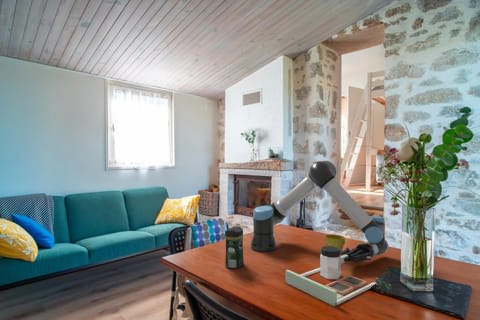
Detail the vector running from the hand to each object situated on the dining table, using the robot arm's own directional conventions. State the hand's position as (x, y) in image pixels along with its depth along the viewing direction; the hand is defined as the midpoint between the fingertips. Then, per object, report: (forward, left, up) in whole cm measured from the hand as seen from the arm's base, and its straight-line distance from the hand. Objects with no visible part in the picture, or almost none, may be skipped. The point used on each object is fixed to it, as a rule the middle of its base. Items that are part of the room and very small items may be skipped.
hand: (338, 260), depth 127 cm
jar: (-4, -3, -6) cm, 8 cm away
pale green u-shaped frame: (-5, -11, -6) cm, 13 cm away
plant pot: (+3, +26, -6) cm, 27 cm away
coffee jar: (-48, +3, -6) cm, 49 cm away
